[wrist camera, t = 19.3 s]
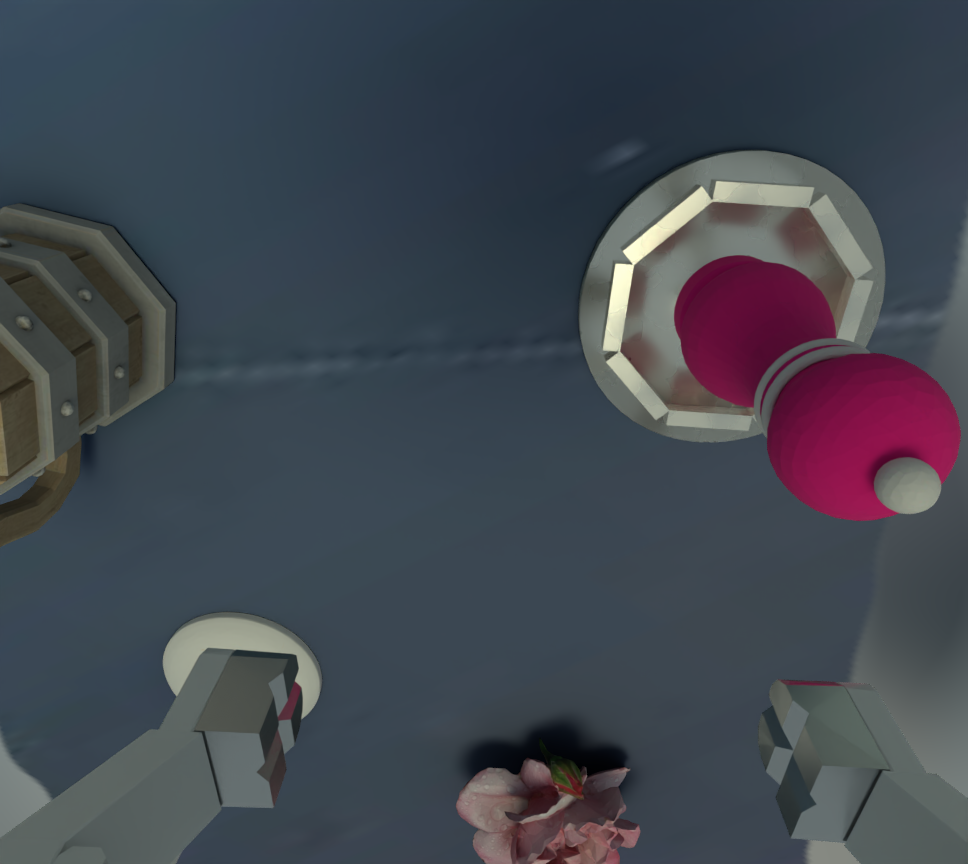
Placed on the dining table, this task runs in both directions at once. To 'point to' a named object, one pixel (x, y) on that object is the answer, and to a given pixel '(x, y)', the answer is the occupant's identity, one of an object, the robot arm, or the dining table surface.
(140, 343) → the tankard
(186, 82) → the dining table surface
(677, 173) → the silver metal plate
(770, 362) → the pepper mill
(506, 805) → the flower
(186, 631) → the candlestick
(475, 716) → the dining table surface
